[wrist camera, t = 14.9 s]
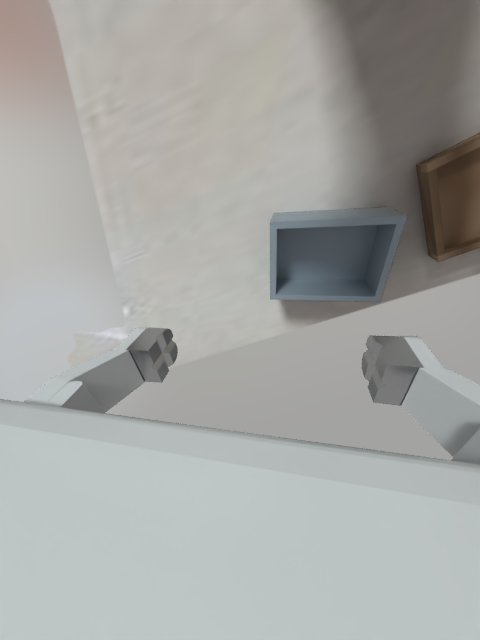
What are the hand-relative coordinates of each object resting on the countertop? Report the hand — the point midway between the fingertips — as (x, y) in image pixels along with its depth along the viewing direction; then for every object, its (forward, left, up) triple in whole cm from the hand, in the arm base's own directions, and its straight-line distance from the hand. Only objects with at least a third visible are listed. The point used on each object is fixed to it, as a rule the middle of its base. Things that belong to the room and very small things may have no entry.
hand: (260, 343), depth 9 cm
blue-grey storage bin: (+4, +6, -28) cm, 29 cm away
